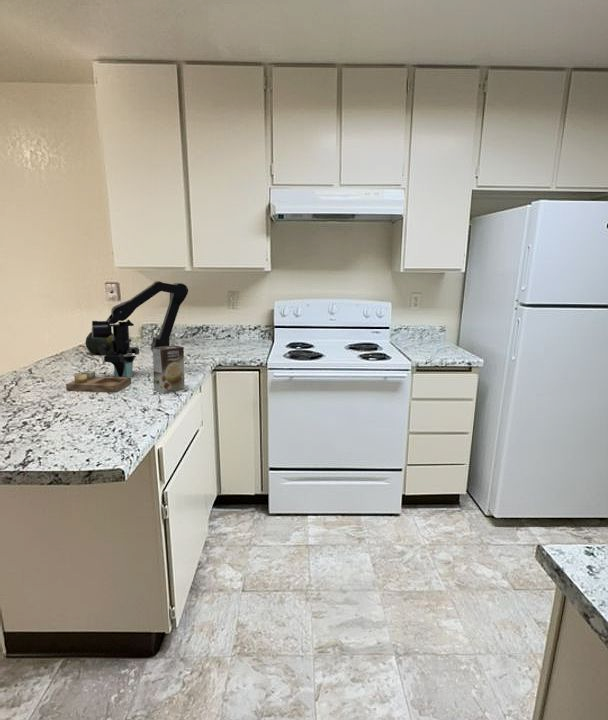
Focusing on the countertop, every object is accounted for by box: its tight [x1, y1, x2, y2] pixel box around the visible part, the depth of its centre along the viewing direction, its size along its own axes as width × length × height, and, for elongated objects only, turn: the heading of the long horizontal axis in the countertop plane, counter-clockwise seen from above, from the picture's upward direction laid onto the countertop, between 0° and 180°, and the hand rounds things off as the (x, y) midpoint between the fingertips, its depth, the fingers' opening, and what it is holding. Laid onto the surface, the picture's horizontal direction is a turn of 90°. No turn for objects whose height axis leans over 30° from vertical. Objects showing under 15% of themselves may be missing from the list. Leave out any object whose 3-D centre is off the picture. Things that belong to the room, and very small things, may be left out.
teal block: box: [113, 362, 133, 378], centre depth 165 cm, size 5×5×6 cm
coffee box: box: [152, 344, 185, 394], centre depth 149 cm, size 9×6×16 cm
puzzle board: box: [65, 370, 132, 393], centre depth 150 cm, size 18×12×5 cm, turn 89°
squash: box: [85, 331, 114, 355], centre depth 211 cm, size 14×15×15 cm
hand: (123, 375), depth 165 cm, fingers closed on teal block, 5 cm apart
